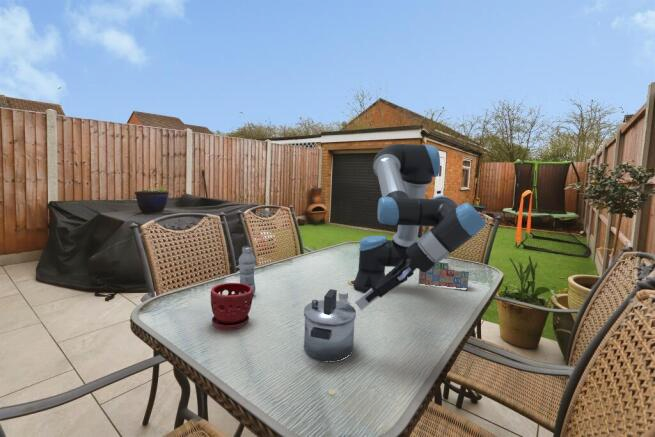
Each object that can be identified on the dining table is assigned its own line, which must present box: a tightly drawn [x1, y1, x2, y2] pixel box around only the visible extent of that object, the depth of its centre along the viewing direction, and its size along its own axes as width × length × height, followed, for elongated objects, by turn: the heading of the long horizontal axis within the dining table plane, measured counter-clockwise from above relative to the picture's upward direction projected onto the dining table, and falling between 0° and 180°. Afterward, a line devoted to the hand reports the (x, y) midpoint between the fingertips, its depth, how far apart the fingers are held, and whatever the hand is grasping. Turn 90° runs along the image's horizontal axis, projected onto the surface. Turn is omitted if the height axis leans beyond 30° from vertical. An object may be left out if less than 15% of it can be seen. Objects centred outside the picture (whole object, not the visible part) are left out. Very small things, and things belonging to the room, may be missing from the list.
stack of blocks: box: [418, 259, 470, 289], centre depth 150 cm, size 21×6×12 cm, turn 74°
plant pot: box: [210, 282, 254, 330], centre depth 105 cm, size 13×13×12 cm
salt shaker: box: [336, 290, 351, 305], centre depth 112 cm, size 4×4×10 cm
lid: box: [303, 288, 357, 326], centre depth 91 cm, size 15×15×6 cm
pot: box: [303, 317, 355, 363], centre depth 92 cm, size 14×19×10 cm
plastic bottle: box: [238, 245, 256, 296], centre depth 129 cm, size 6×7×20 cm
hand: (358, 305), depth 88 cm, fingers closed
